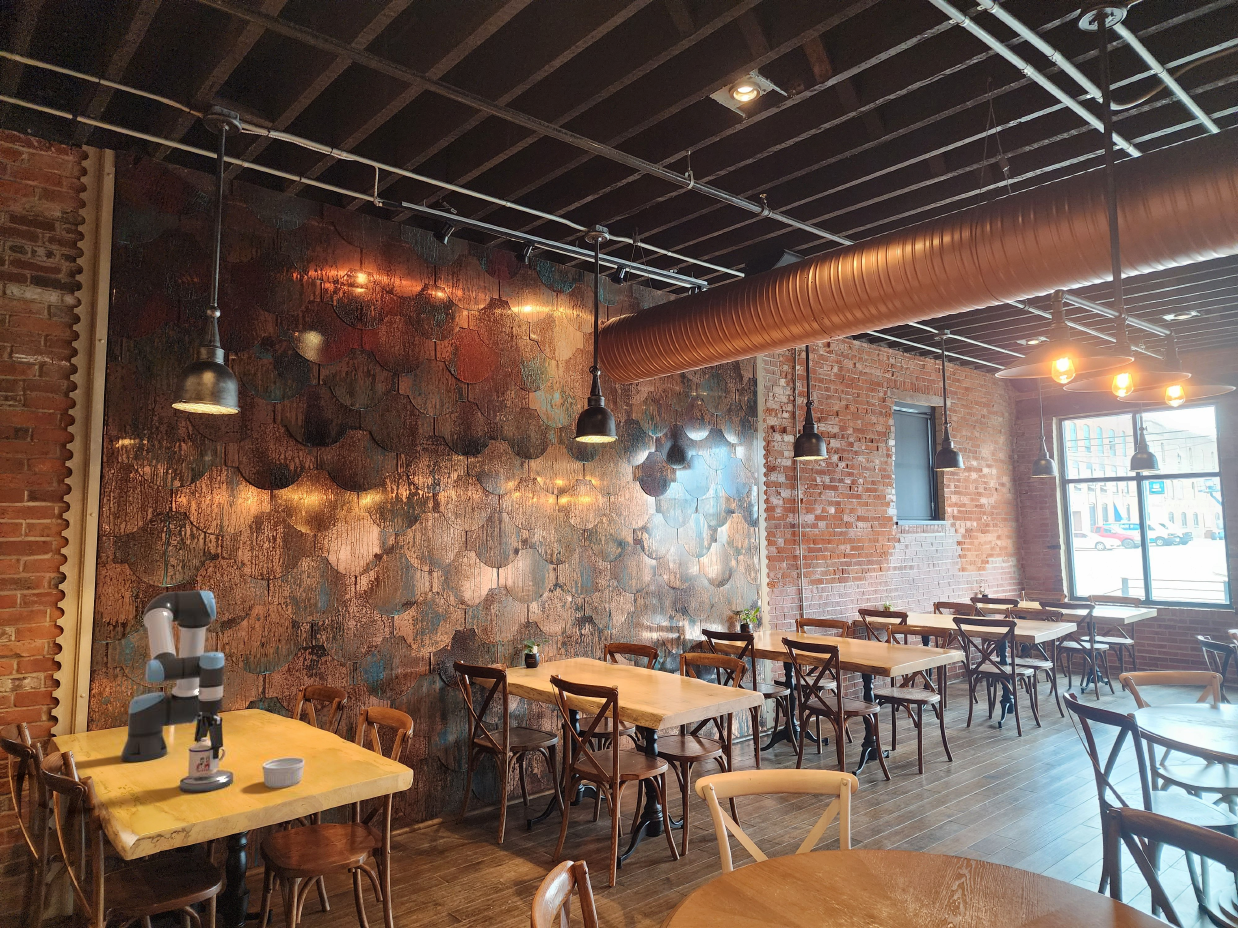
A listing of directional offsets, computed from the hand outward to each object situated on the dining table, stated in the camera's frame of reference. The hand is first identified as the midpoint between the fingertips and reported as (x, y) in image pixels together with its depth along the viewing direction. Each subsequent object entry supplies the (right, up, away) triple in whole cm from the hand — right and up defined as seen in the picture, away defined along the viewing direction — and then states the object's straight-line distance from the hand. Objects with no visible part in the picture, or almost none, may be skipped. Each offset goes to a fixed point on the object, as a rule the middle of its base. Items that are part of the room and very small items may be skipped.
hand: (207, 765), depth 257 cm
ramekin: (+26, -7, +1) cm, 26 cm away
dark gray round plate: (0, -6, -1) cm, 6 cm away
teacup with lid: (0, -2, 0) cm, 2 cm away
